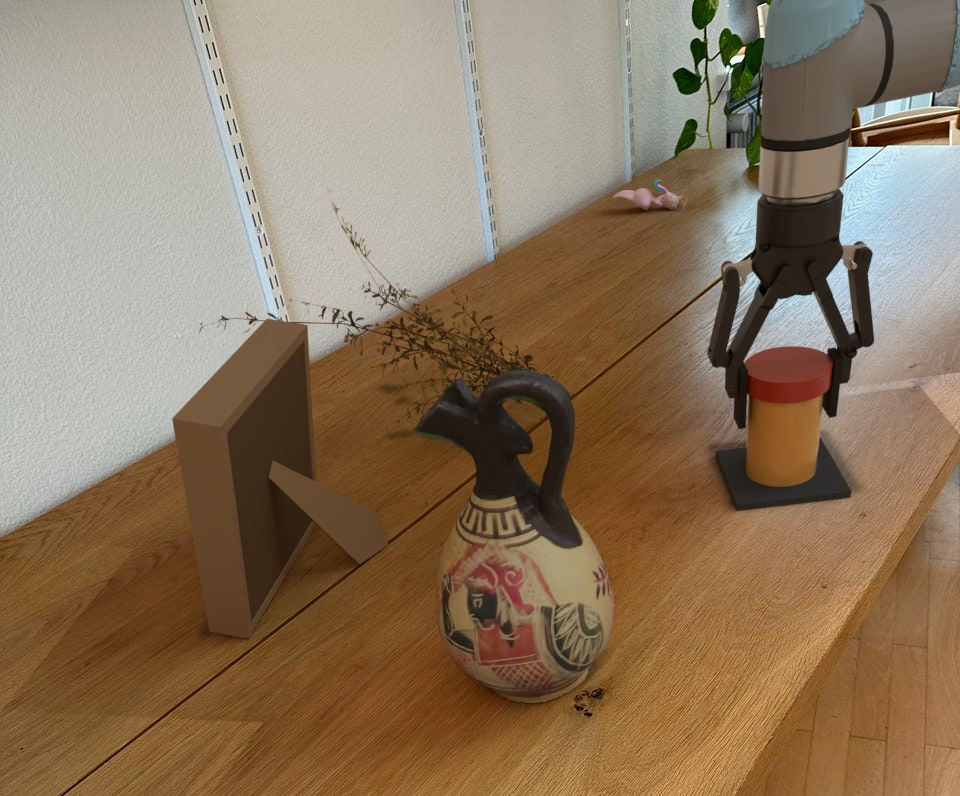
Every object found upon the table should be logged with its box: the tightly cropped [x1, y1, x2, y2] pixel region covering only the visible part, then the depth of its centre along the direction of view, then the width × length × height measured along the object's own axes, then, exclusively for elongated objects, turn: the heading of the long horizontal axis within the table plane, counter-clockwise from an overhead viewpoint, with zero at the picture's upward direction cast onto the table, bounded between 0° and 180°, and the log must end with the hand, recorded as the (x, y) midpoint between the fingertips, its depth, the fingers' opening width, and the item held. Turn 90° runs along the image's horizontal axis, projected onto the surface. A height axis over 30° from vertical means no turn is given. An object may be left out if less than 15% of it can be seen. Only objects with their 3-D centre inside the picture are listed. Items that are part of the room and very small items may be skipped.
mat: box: [715, 437, 852, 512], centre depth 101 cm, size 12×12×1 cm
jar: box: [745, 394, 824, 487], centre depth 97 cm, size 8×8×12 cm
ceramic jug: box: [413, 368, 616, 704], centre depth 73 cm, size 17×15×30 cm
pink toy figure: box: [611, 179, 688, 211], centre depth 181 cm, size 6×6×15 cm
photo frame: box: [171, 318, 389, 639], centre depth 92 cm, size 15×22×25 cm
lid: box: [744, 345, 833, 403], centre depth 94 cm, size 9×9×2 cm
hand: (784, 417), depth 97 cm, fingers closed on lid, 9 cm apart
